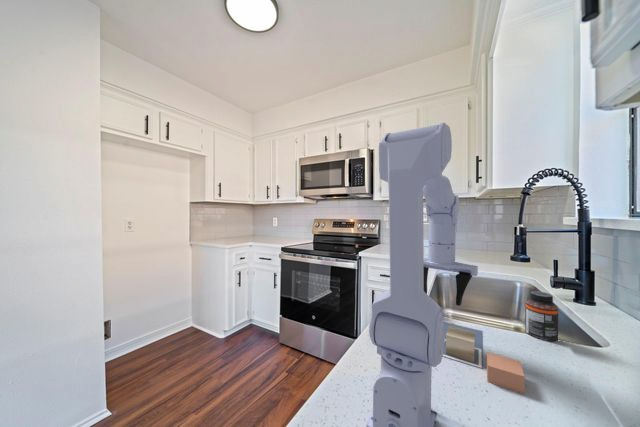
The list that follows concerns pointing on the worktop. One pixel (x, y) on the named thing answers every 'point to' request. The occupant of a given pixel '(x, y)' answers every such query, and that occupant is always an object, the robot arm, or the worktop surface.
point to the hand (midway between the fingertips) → (440, 300)
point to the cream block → (460, 343)
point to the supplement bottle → (542, 317)
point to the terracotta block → (505, 372)
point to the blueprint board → (478, 347)
